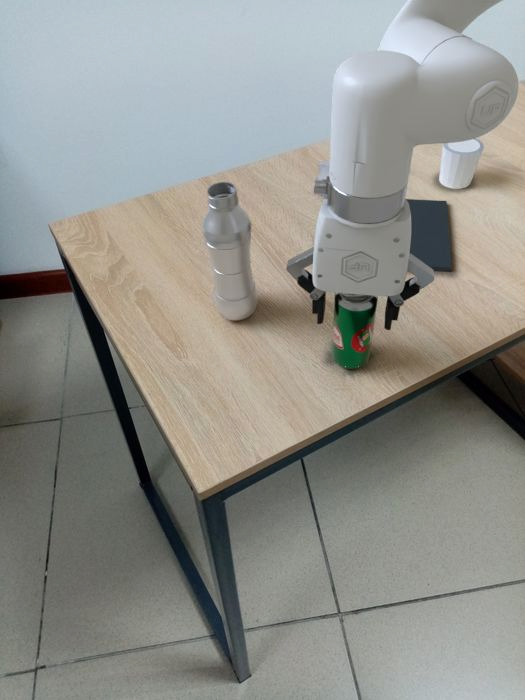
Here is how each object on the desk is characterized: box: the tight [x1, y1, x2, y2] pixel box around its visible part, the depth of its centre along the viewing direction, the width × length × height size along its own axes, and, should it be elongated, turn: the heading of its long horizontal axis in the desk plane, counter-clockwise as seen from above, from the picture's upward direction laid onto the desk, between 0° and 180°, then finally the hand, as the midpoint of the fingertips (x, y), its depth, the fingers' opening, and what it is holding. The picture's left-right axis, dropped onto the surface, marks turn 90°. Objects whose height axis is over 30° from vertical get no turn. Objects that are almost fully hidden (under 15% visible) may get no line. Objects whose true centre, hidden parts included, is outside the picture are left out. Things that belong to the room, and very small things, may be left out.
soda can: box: [330, 293, 379, 370], centre depth 67 cm, size 5×5×12 cm
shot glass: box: [438, 138, 485, 190], centre depth 95 cm, size 7×7×7 cm
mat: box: [405, 198, 453, 273], centre depth 88 cm, size 18×18×1 cm
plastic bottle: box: [201, 181, 259, 321], centre depth 71 cm, size 6×7×20 cm
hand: (354, 318), depth 66 cm, fingers open, 7 cm apart
